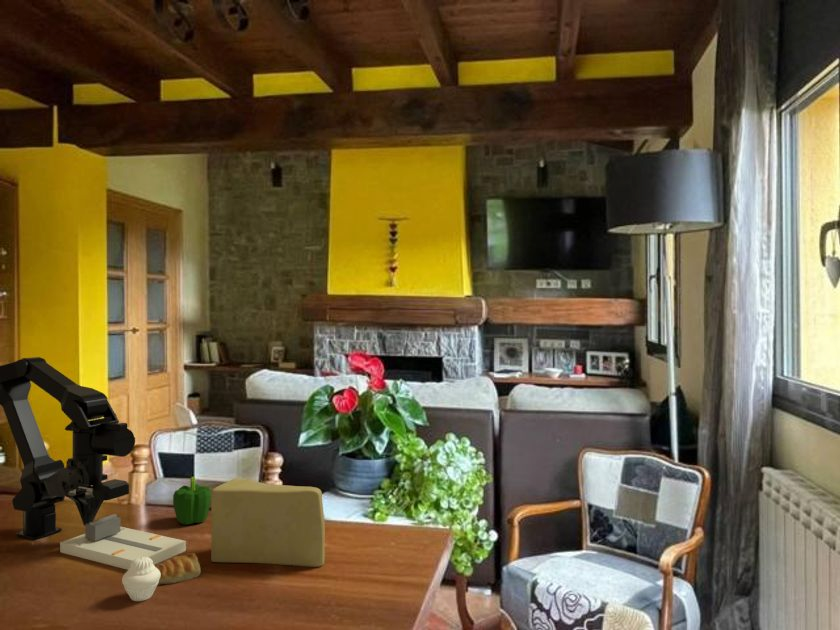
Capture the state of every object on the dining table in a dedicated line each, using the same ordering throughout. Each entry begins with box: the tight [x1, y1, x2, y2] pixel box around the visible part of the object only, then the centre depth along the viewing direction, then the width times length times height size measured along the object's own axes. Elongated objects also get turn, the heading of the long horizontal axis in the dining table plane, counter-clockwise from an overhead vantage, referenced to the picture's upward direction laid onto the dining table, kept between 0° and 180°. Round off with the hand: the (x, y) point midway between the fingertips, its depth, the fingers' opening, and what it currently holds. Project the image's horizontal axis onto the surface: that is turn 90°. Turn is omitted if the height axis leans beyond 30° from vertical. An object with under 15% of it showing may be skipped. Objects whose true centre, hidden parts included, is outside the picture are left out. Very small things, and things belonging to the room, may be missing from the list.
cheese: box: [210, 477, 326, 568], centre depth 127 cm, size 22×10×15 cm, turn 76°
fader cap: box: [84, 513, 122, 541], centre depth 133 cm, size 3×6×4 cm, turn 155°
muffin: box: [121, 557, 161, 602], centre depth 110 cm, size 6×6×7 cm
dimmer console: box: [59, 526, 187, 571], centre depth 130 cm, size 22×12×2 cm, turn 65°
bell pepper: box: [172, 476, 212, 526], centre depth 149 cm, size 8×8×10 cm
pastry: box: [154, 552, 202, 586], centre depth 118 cm, size 9×7×4 cm
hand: (87, 525), depth 135 cm, fingers closed
